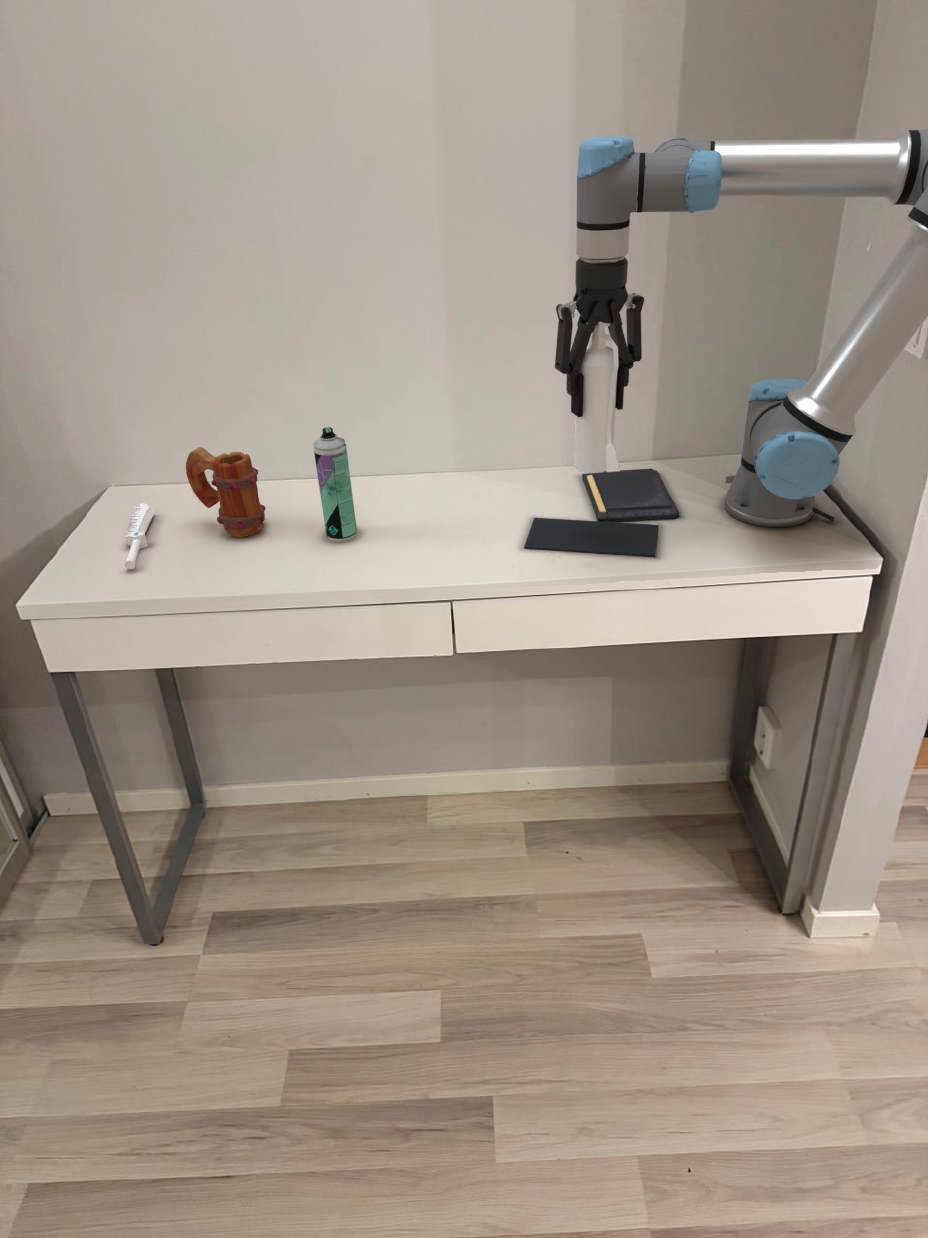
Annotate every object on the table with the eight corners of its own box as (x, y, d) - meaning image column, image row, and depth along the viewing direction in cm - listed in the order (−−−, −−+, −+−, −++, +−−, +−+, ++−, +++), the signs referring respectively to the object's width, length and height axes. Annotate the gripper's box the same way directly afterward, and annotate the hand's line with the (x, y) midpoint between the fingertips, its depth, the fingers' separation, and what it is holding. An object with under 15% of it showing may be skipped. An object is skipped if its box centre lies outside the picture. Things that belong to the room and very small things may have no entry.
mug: (279, 524, 166) (265, 447, 157) (253, 544, 160) (237, 465, 151) (215, 512, 171) (199, 438, 163) (187, 531, 165) (169, 455, 157)
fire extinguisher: (598, 485, 143) (606, 325, 129) (558, 459, 152) (561, 307, 139) (633, 476, 145) (645, 318, 132) (592, 451, 155) (598, 301, 141)
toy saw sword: (117, 573, 153) (136, 515, 172) (141, 570, 154) (157, 513, 172) (113, 559, 152) (133, 503, 170) (137, 557, 152) (154, 501, 171)
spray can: (344, 525, 164) (330, 420, 153) (363, 534, 161) (350, 427, 150) (320, 536, 161) (304, 429, 150) (339, 545, 158) (324, 437, 147)
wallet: (681, 509, 159) (594, 513, 159) (680, 518, 160) (594, 522, 160) (659, 463, 176) (581, 467, 176) (659, 472, 177) (581, 476, 177)
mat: (658, 526, 158) (658, 524, 158) (655, 557, 149) (655, 555, 149) (534, 519, 163) (534, 517, 162) (524, 548, 154) (524, 546, 153)
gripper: (648, 245, 136) (639, 393, 149) (530, 260, 131) (531, 412, 144) (674, 253, 130) (662, 407, 143) (551, 270, 125) (551, 428, 138)
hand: (596, 410), depth 143 cm, fingers closed on fire extinguisher, 6 cm apart
